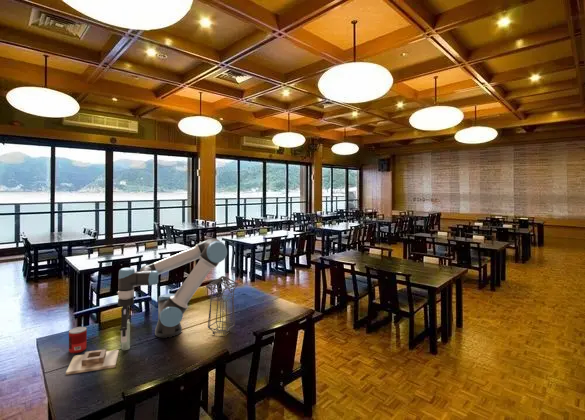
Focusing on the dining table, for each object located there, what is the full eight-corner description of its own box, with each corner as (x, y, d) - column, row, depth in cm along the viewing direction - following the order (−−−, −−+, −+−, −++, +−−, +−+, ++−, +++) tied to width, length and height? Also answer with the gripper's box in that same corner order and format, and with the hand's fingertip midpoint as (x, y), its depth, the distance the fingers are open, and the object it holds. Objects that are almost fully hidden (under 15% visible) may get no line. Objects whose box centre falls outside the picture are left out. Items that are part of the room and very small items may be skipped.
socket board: (118, 351, 173) (118, 344, 173) (115, 367, 158) (115, 359, 158) (73, 358, 165) (73, 350, 165) (65, 374, 151) (65, 366, 150)
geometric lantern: (203, 336, 195) (204, 277, 194) (216, 327, 210) (218, 272, 209) (227, 340, 190) (228, 280, 189) (239, 330, 205) (240, 274, 204)
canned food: (90, 347, 176) (90, 327, 176) (76, 354, 169) (76, 333, 168) (78, 345, 178) (78, 325, 178) (65, 352, 171) (65, 331, 170)
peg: (130, 346, 180) (130, 321, 179) (129, 349, 176) (129, 323, 175) (121, 347, 178) (122, 322, 177) (121, 350, 174) (121, 324, 174)
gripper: (120, 291, 186) (119, 328, 186) (115, 305, 163) (114, 347, 163) (135, 290, 188) (134, 326, 189) (132, 304, 165) (131, 345, 166)
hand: (125, 336), depth 176 cm, fingers open, 13 cm apart
